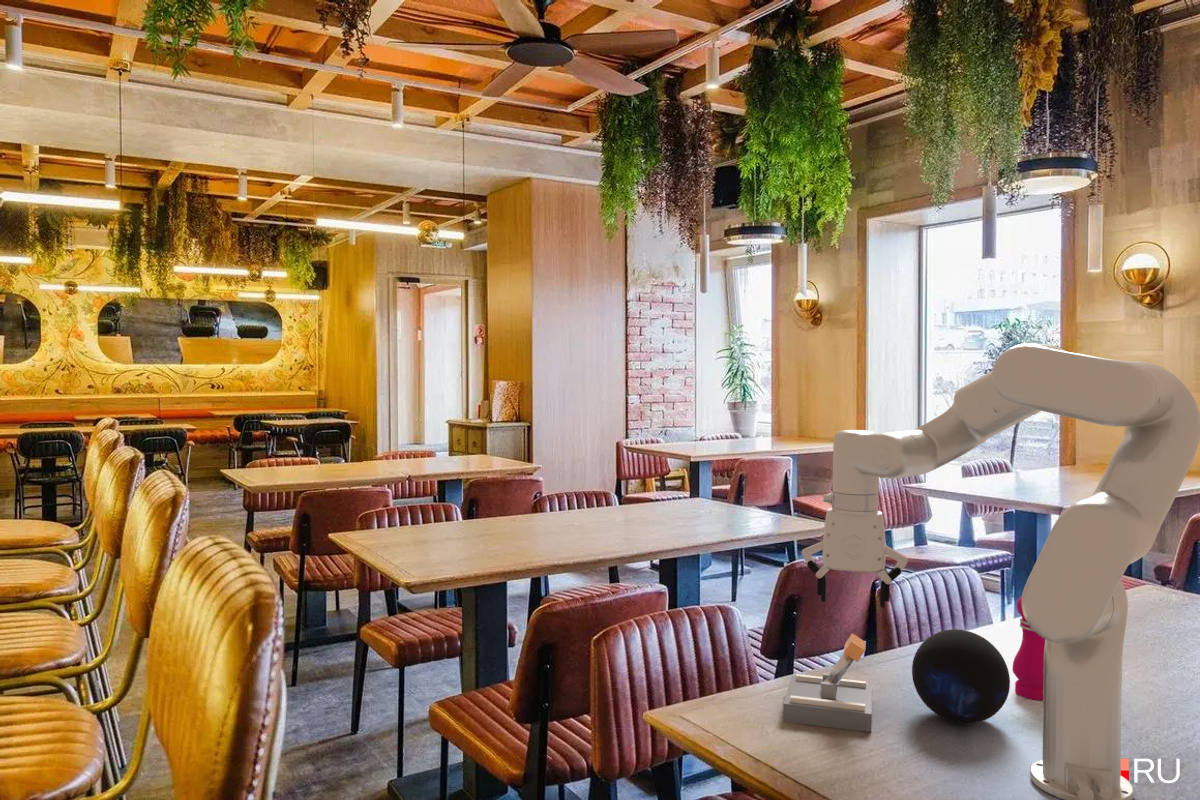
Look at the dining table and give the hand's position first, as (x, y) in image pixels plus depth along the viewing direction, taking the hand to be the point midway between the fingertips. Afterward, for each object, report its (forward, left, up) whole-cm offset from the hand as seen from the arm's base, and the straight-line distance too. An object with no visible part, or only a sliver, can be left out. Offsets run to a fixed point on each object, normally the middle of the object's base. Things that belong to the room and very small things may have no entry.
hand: (852, 602), depth 144 cm
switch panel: (0, +4, -19) cm, 19 cm away
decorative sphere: (+3, -17, -19) cm, 26 cm away
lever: (0, +4, -15) cm, 15 cm away
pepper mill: (+20, -31, -19) cm, 42 cm away
